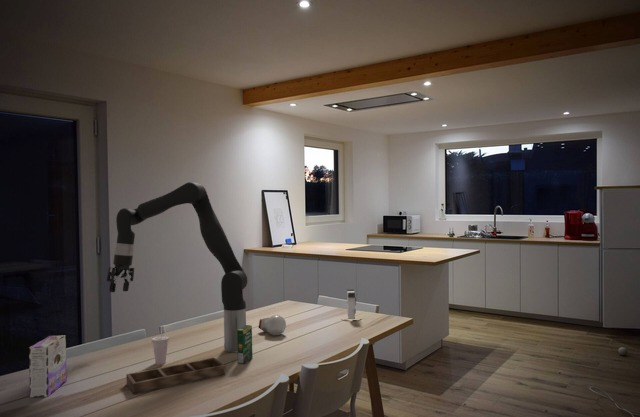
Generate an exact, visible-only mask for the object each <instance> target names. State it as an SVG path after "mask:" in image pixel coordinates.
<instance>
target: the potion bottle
mask: <svg viewBox="0 0 640 417" xmlns="http://www.w3.org/2000/svg"><path fill="white" fill-rule="evenodd" d="M286 328H287V321H286V320H285V319H284V317H283V316H281V315H279V314H275V315H274V314H273V315H272V316H269V317H265V318H261V319H259V322H258V329H260V330H261V331H263V332H266V333H268V334H270V335H272V336H280V335H282V334H283V333H285V330H286Z"/></svg>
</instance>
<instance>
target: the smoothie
mask: <svg viewBox="0 0 640 417" xmlns="http://www.w3.org/2000/svg"><path fill="white" fill-rule="evenodd" d="M169 338H170V337H169V336H167V335H163V327H162V326H160V335H159V336H155V337H153V338H151V343H152V348H153V355H154V361H155V364H156V365H157V366H158V365H160V366H161V365H165V364H166V363H167V362H166V361H167V354H168V344H169V341H170V339H169Z"/></svg>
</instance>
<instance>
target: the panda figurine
mask: <svg viewBox="0 0 640 417" xmlns="http://www.w3.org/2000/svg"><path fill="white" fill-rule="evenodd" d="M346 300H347V301H346V304H347V316H348V319H355V316H356V313H357V312H356V306H357V305H356V304H357V303H356V301H357V300H356V292H355V290H354V289H350V288H349V289H348V288H347V291H346Z"/></svg>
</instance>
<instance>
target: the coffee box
mask: <svg viewBox="0 0 640 417" xmlns="http://www.w3.org/2000/svg"><path fill="white" fill-rule="evenodd" d="M237 342H238V352H237V364H238V365H245V364H246V363H247V362H249V361H250V360H251V359H253V325H250V324H249V325H247V324H246V326H244V327H242V328H241V329H239V330H237Z"/></svg>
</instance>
